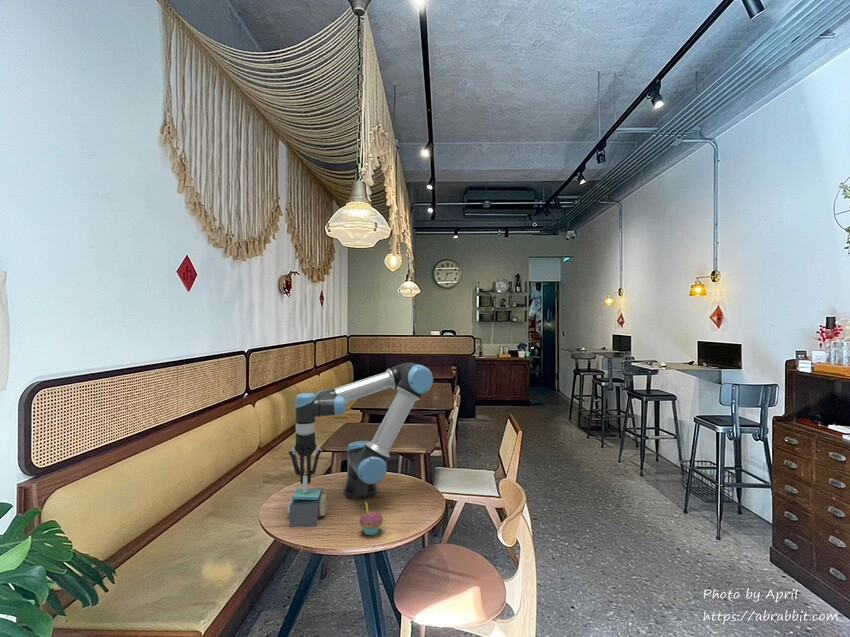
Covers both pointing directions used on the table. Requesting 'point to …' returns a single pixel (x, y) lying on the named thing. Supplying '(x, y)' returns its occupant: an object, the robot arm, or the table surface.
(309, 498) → the teal rectangular plate
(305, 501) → the grey block
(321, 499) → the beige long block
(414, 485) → the table surface
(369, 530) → the cupcake
